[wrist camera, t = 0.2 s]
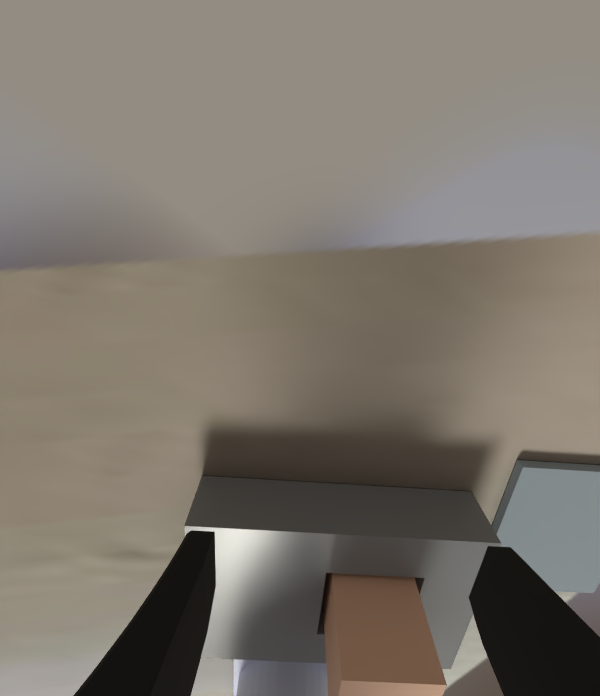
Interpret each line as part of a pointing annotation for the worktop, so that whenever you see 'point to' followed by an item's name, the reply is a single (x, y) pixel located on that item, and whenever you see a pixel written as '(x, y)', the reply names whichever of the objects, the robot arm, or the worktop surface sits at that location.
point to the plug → (378, 638)
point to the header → (331, 558)
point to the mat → (554, 522)
